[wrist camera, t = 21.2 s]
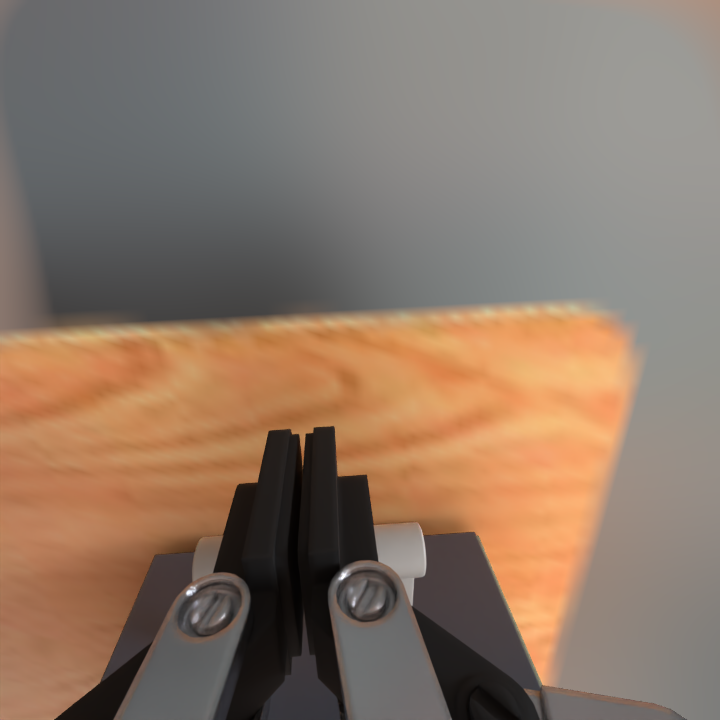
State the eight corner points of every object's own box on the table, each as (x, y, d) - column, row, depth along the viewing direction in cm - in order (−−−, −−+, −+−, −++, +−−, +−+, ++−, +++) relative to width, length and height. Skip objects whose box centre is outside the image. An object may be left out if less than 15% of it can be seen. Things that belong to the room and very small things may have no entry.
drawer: (128, 461, 14) (-19, 683, 8) (487, 441, 15) (601, 626, 9) (211, 757, 22) (169, 987, 16) (447, 732, 23) (493, 940, 17)
